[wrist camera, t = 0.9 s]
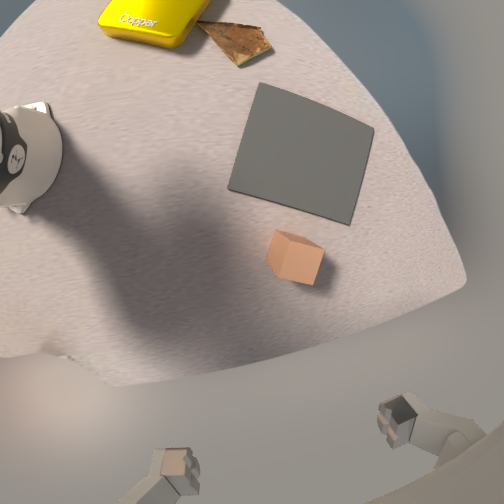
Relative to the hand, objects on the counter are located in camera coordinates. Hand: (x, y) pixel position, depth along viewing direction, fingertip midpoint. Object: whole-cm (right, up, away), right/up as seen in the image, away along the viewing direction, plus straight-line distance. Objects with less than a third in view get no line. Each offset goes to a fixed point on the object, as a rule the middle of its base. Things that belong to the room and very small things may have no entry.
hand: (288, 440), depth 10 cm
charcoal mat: (+7, +23, +31) cm, 39 cm away
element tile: (-17, +47, +22) cm, 55 cm away
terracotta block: (+4, +8, +34) cm, 35 cm away
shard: (-5, +40, +26) cm, 47 cm away
